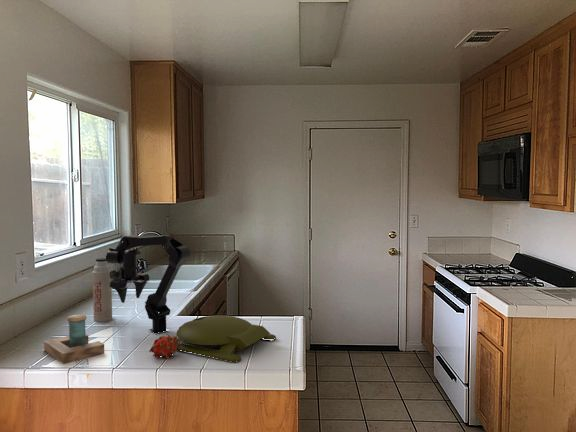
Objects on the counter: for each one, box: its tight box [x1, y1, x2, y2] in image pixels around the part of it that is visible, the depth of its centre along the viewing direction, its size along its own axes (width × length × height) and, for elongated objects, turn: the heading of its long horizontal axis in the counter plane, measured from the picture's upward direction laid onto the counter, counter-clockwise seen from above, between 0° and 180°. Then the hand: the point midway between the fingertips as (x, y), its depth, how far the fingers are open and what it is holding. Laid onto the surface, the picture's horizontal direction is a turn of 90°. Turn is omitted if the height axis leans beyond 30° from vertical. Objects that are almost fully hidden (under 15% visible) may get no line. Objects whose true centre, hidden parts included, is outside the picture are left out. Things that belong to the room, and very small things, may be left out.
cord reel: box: [66, 313, 87, 348], centre depth 184 cm, size 6×6×13 cm
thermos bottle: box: [91, 257, 113, 323], centre depth 225 cm, size 8×8×28 cm
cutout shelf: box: [43, 333, 105, 364], centre depth 183 cm, size 15×19×4 cm
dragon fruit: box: [148, 334, 182, 359], centre depth 179 cm, size 8×8×12 cm
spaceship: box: [176, 314, 277, 363], centre depth 193 cm, size 35×31×10 cm
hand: (130, 300), depth 212 cm, fingers open, 9 cm apart
